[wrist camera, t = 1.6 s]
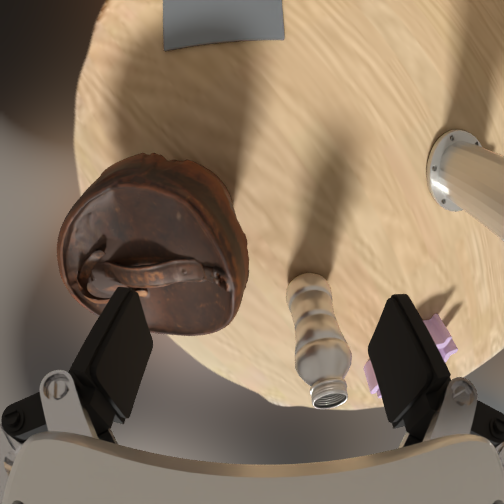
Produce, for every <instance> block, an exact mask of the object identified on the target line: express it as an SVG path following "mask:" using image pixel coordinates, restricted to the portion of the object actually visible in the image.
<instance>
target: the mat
mask: <svg viewBox="0 0 504 504" xmlns="http://www.w3.org/2000/svg"><path fill="white" fill-rule="evenodd" d="M163 37H164V51H169V50H174V49H180V48H185V47H192V46H198V45H206V44H214V43H223V42H235V41H252V40H284V24H283V11H282V0H163Z"/></svg>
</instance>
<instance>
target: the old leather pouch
mask: <svg viewBox="0 0 504 504" xmlns="http://www.w3.org/2000/svg"><path fill="white" fill-rule="evenodd" d="M57 258H58V266H59V271H60V275H61V278H62V280H63V282H64V284H65V286H66V288H67V289H68V291H69V292H70V294H71V295H72V296H73V297H74V299H76V301H77V302H79V303H80V304H81V305H82V306H84V307H85V308H86V309H88V310H89V311H90V312H92V313H93V314H95V315H97V316H100V315H101V313H102V311H103V310H104V308H105V306H106V305H107V303H108V301H109V300H110V298H111V297H112V295H113V293H114V292H115V290H116V289H117V288H118V287H130V288H133V289H134V291H135V292H137V293H138V294H139V297H140V301H141V305H142V308H143V311H144V315H145V318H146V321H147V324H148V328H149V331H150V332H152V333H158V334H170V335H184V336H196V335H205V334H210V333H214V332H217V331H219V330H221V329H223V328H225V327H226V326H227V325H229V324H230V322H231V321H232V320H233V319H234V317H235V316H236V314H237V312H238V309H239V307H240V304H241V301H242V297H243V292H244V290H245V288H246V283H247V281H248V276H249V257H248V249H247V239H246V236H245V234H244V232H243V231H242V229H241V226H240V224H239V222H238V220H237V218H236V214H235V211H234V208H233V204H232V201H231V198H230V195H229V193H228V190H227V188H226V187H225V185H224V184H223V182H222V181H221V180H220V179H219V178H218V177H217V176H216V175H215V174H214V173H213V172H211V171H210V170H208V169H207V168H205V167H203V166H201V165H199V164H197V163H195V162H193V161H190V160H185V161H177V160H170V161H167V160H166V159H165V158H164V157H163V156H162V155H158V154H156V153H152V154H150V155H147V154H145V153H141V154H138V155H135V156H132V157H129V158H126V159H124V160H121V161H119V162H117V163H115V164H113V165H112V166H110V167H108V168H107V169H106V170H105V171H104V172H103V173H102V174H101V176H100V177H99V178H98V179H97V180H96V181H95V182H94V183H93V184H92V185H91V186H90V187H89V188H88V189H87V190H86V191H85V192H84V193H83V195H82V196H81V197H80V198H79V200H78V201H77V202H76V203H75V204H74V206H73V207H72V209H71V210H70V211H69V213H68V215H67V216H66V218H65V220H64V222H63V224H62V227H61V229H60V233H59V237H58V242H57Z"/></svg>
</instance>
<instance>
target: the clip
mask: <svg viewBox="0 0 504 504" xmlns="http://www.w3.org/2000/svg"><path fill="white" fill-rule="evenodd" d="M423 322H424V324H425V325H426V327H427V329H428V331H429V333H430V335H431V336H432V338H433V340H434V342H435V344H436V346H437V348H438V350H439V352H440V354H441V356H442V358H443V360H444V362H445V363H446V361H447V360H448V358H449V357H450V355H451V354H454V353H456V352H457V351H458V348H457V347H456V345H455V343H454V341H453V340H452V337H451V335H450V333H449V331H448V330H447V328H446V326H445V325H444V323H443V322H442V320H441V318H440V317H439V315H438V314H437V313H436V314H434V315H433V316H432V318H431V319H430V320H423ZM364 372H365V375H366V378H367V382H368V385H369V389H370V393H371V394H374V393H376V392H377V396H378V398H382V396H381V393H380V389H379V386H378V383H377V379H376V376H375V373H374V370H373V367H372V363H371V360H369V361H368V362H367V363H366V364H365V366H364Z"/></svg>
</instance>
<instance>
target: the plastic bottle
mask: <svg viewBox="0 0 504 504" xmlns="http://www.w3.org/2000/svg"><path fill="white" fill-rule="evenodd" d="M286 302H287V305H288V307H289V310H290V312H291V314H292V318H293V322H294V325H295V336H296V347H295V369H296V371H297V373H298V374H299V376H300V377H301V378H302V379H303V380H304V381H305V382H306V383H307V384H308V385H310V386H311V388H310V395H311V397H312V404H313V406H314V407H315V408H317V409H330V408H334V407H337V406H339V405H341V404H343V403H344V402H345V401H346V400H347V399H348V394H347V389H346V388H347V384H346V381H345V380H344V378H345V376H346V374H347V372H348V370H349V368H350V366H351V360H352V353H351V350H350V348H349V346H348V344H347V342H346V340H345V338H344V336H343V334H342V332H341V330H340V328H339V325H338V323H337V320H336V317H335V314H334V309H333V304H332V292H331V287H330V285H329V284H328V282H327V281H326V279H325V278H324V277H322V276H321V275H318V274H314V273H305V274H301V275H299V276H297V277H296V278H294V279H293V280H292V281H291V282H290V284H289V285H288V287H287V292H286Z"/></svg>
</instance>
